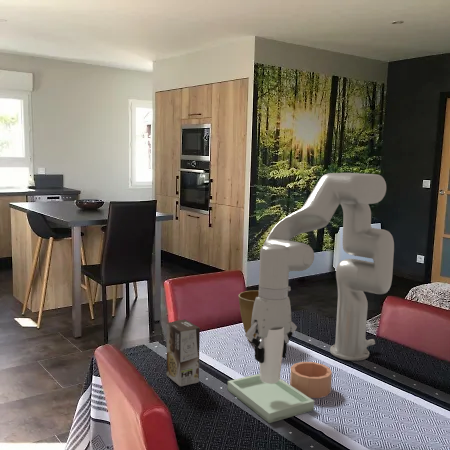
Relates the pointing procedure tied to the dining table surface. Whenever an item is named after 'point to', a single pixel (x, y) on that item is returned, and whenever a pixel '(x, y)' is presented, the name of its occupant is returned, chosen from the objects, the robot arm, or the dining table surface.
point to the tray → (270, 398)
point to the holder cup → (311, 379)
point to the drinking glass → (272, 356)
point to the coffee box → (183, 352)
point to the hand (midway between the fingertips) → (270, 358)
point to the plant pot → (247, 308)
